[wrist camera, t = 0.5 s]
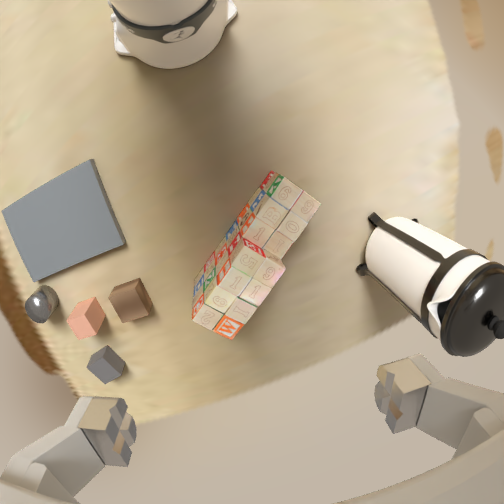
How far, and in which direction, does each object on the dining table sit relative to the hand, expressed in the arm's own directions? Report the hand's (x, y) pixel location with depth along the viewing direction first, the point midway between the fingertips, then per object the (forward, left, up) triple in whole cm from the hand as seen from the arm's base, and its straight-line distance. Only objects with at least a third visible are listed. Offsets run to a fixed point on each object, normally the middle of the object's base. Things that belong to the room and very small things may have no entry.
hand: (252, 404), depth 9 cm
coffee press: (+18, +27, -39) cm, 51 cm away
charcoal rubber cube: (+22, -31, -39) cm, 55 cm away
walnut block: (+11, -19, -39) cm, 45 cm away
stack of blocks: (+8, +2, -40) cm, 40 cm away
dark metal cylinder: (+6, -36, -39) cm, 54 cm away
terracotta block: (+11, -28, -39) cm, 50 cm away
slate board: (-5, -26, -39) cm, 47 cm away
